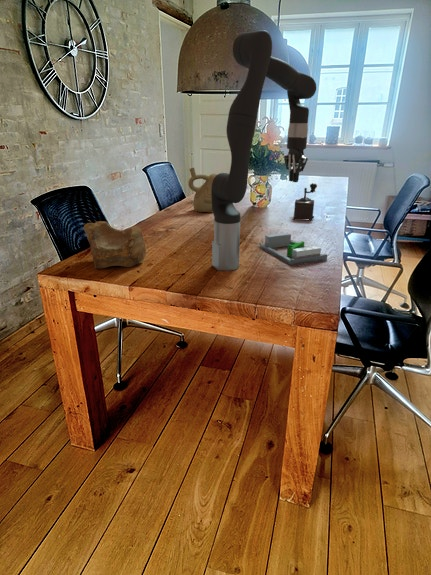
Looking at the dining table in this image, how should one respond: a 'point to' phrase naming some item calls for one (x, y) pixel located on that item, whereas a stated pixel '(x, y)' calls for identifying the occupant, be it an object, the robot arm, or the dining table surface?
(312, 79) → the robot arm
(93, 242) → the rough brown rock
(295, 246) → the pipe clamp
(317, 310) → the dining table surface
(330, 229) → the dining table surface
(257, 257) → the dining table surface
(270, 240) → the block
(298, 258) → the vise
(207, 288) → the dining table surface
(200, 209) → the ceramic vessel
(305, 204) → the manual coffee grinder
